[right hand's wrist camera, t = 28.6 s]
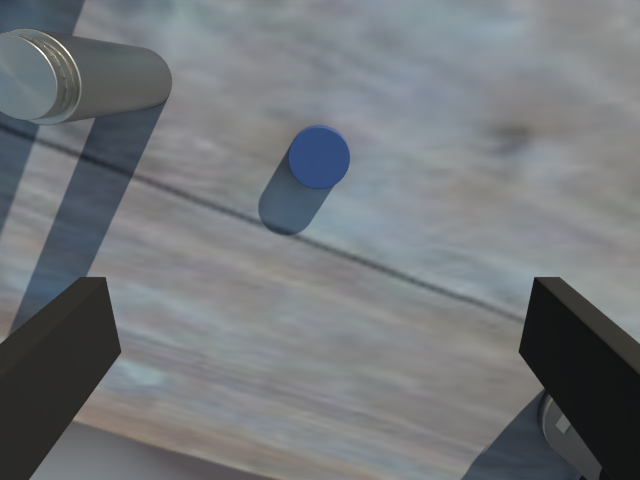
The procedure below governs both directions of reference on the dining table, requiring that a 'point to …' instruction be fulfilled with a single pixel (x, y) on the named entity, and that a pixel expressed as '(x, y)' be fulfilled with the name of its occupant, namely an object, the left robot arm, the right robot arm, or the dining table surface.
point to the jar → (76, 77)
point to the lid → (319, 157)
